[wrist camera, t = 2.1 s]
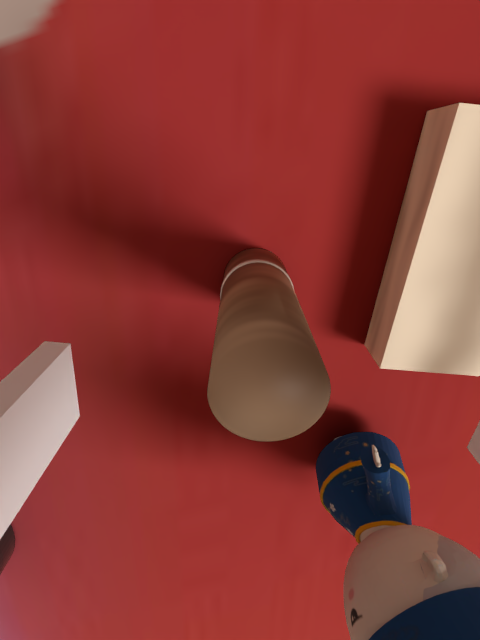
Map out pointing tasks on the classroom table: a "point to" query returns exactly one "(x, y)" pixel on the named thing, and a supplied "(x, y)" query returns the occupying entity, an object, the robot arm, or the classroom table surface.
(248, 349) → the peg
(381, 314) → the board
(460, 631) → the blue tall vessel
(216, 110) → the classroom table surface
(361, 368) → the classroom table surface
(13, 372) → the robot arm
